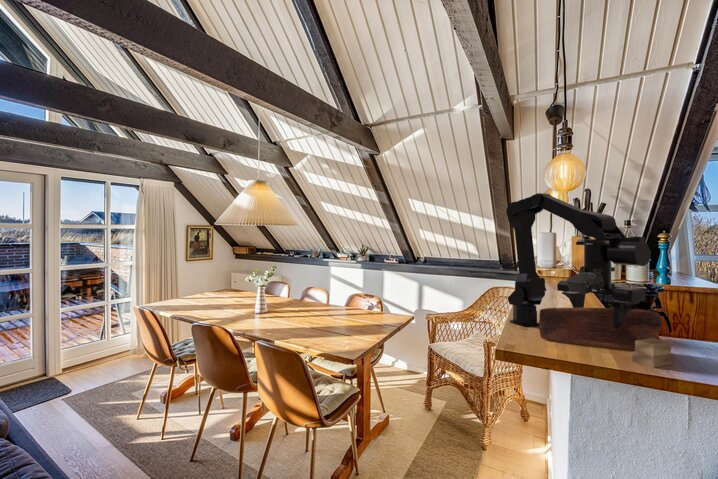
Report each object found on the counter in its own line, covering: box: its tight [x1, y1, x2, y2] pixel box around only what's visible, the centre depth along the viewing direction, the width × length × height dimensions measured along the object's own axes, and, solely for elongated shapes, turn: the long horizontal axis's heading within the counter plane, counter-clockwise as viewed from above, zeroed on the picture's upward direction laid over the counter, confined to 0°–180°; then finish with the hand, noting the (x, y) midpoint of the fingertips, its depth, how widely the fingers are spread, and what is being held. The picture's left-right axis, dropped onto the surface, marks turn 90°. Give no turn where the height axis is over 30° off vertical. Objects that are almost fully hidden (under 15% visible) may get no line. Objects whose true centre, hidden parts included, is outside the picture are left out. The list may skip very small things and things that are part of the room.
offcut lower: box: [631, 350, 674, 369], centre depth 73 cm, size 4×7×2 cm, turn 110°
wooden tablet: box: [538, 307, 663, 351], centre depth 85 cm, size 26×2×10 cm, turn 69°
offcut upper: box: [634, 338, 672, 357], centre depth 73 cm, size 4×6×2 cm, turn 110°
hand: (597, 323), depth 85 cm, fingers open, 9 cm apart
